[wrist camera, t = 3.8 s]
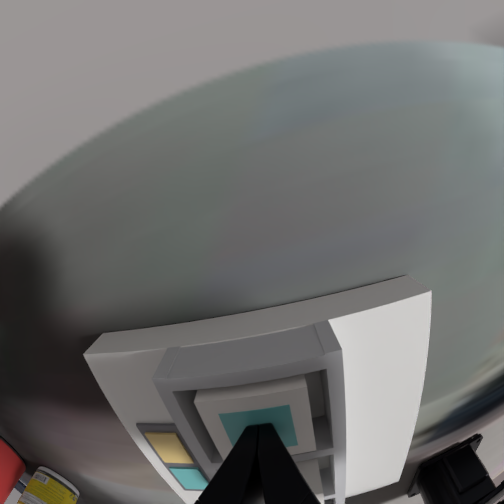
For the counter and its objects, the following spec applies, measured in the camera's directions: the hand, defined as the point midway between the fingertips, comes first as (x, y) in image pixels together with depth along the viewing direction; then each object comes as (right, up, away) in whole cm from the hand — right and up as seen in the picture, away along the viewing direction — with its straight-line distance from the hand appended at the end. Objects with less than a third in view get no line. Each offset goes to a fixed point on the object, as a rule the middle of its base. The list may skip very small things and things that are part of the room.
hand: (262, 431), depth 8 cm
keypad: (+1, -3, +5) cm, 6 cm away
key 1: (0, 0, +2) cm, 2 cm away
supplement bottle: (-21, -19, +9) cm, 30 cm away
